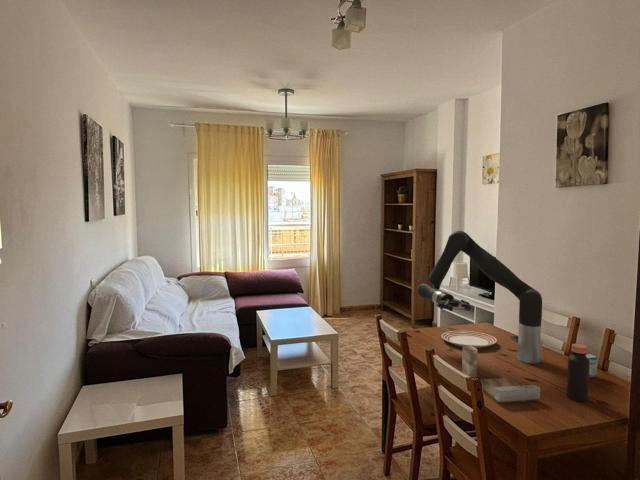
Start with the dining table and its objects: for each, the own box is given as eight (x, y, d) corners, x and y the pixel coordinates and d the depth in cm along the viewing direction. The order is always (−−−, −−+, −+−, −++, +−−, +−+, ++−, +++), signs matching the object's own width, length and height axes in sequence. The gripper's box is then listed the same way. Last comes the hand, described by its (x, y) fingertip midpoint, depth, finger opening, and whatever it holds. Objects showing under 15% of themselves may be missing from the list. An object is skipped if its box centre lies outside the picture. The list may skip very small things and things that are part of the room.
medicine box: (582, 379, 170) (583, 358, 169) (573, 375, 174) (573, 355, 173) (597, 377, 172) (598, 357, 171) (587, 373, 176) (588, 353, 176)
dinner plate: (430, 338, 224) (431, 332, 224) (469, 332, 235) (470, 327, 234) (466, 355, 199) (467, 348, 199) (508, 347, 209) (508, 341, 209)
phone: (525, 345, 210) (509, 336, 225) (525, 347, 210) (509, 338, 225) (539, 344, 211) (523, 336, 226) (539, 347, 211) (523, 338, 226)
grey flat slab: (508, 380, 168) (508, 377, 168) (537, 400, 150) (537, 397, 150) (472, 382, 166) (472, 380, 166) (497, 403, 148) (497, 400, 148)
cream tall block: (469, 371, 177) (470, 344, 177) (476, 377, 171) (477, 349, 171) (461, 372, 177) (462, 345, 176) (468, 377, 171) (469, 349, 170)
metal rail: (534, 395, 152) (534, 384, 152) (539, 398, 149) (540, 388, 149) (494, 398, 150) (494, 387, 150) (499, 401, 147) (499, 391, 147)
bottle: (578, 393, 156) (580, 342, 155) (592, 401, 150) (595, 348, 148) (562, 394, 155) (564, 343, 154) (575, 402, 149) (578, 349, 147)
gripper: (429, 292, 196) (446, 300, 180) (457, 291, 198) (476, 300, 183) (429, 307, 196) (445, 317, 181) (456, 306, 199) (474, 316, 183)
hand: (460, 308), depth 182 cm, fingers open, 8 cm apart
